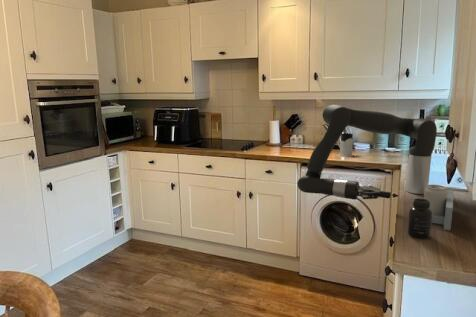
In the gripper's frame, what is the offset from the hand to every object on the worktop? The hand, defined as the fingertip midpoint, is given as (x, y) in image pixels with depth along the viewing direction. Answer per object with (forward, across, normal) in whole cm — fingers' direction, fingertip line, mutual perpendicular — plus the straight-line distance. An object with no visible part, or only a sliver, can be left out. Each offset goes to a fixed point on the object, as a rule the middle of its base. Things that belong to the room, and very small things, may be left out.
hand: (390, 195), depth 145 cm
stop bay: (+17, 0, +6) cm, 18 cm away
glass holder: (-44, +106, +6) cm, 115 cm away
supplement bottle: (+12, -22, +6) cm, 25 cm away
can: (+15, 0, +6) cm, 17 cm away
